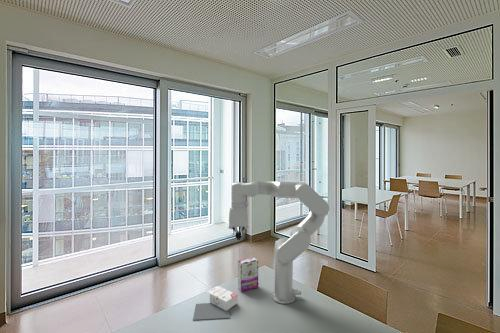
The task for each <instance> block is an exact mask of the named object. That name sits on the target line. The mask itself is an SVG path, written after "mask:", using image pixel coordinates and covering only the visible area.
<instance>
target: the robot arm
mask: <svg viewBox="0 0 500 333" xmlns="http://www.w3.org/2000/svg"><path fill="white" fill-rule="evenodd" d="M259 195H262V196H263V195H265V196H266V195H267V196H271V197H274V198H279V199H298V200H299V201H300V202H301V203H302V204H303V205H304V206H306V207H307V209H309V212H308V215H307V216H305V217H304V219H303V220H301V222H299V223H298V224H297V225H296V226H295V227H293V228H292V229H291V230H290V235H289V236H290V237H289V238H286V237H281V238H279V239H277V241H276V242H275V244H274V291H273V292H272V293H271V299H272V300H273V301H274V302H275V303H278V304H282V305H288V304H291V303H294V302H295V301H296V296H297V295H300V296H301V295H302V294H303V293H302V291H301V290H299V289H298V288H295V289H294V288H293V287H294V286H293V284H294V283H293V282H294V281H293V277H294V276H293V273H294V266H293V265H294V260H296V259H297V258H299V257H300V256H301V255H302V254H303V253H304V252H306V251H307V250H308V248H309V247H310V245H311V243H312V238H311V236H313V234H315V233H316V232H317V231H318V230H319V229H320V228H321V227H322V225H323V223H324V221H325V217H326V216H327V215H328V214H329V211H330V205H329V203H328V202H327V201H326V200H325V199H324V198H323V197H321V195H319V193H318V192H316V190H314V188H312V187H311V186H310V185H309V184H308V183H307V182H302V181H299V182H298V181H297V182H296V181H259V180H257V181H256V180H254V181H253V180H252V181H250V182H249V183H248V182H247V183H246V182H242V181H235V182H233V183H232V184H231V206H230V207H229V211H228V212H229V214H228V229H230V230H233V231H234V232H235V238H236V240H237V241H241V238H242V232H243V231H244V230H247V229H249V215H248V214H249V213H248V208H247V206H249V203H248V202H247V201H246V200H247V199H246V197H249V198H255V197H257V196H259ZM238 228H239V229H238Z"/></svg>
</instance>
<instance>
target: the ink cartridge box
mask: <svg viewBox="0 0 500 333" xmlns="http://www.w3.org/2000/svg"><path fill="white" fill-rule="evenodd" d="M206 293H208V294H209V303H212V304H214V305H216V306H218V307H220V308H222V309H224V310H226V311H227V310H228V309H230V310H231V308H233V307H234V306H235V305H237V304H238V294H237V293H234V292H232V291H230V290H228V289H226V288H224V287H222V286H219V285H216V286H214V287H213V288H210V289H208V290H207V291H206Z"/></svg>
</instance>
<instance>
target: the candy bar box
mask: <svg viewBox="0 0 500 333" xmlns="http://www.w3.org/2000/svg"><path fill="white" fill-rule="evenodd" d="M258 288H259V260H258V259H257V258H256V257H254V256H253V257H249V258H244V259H241V260H237V289H238V290H239V291H240V292H241V293H244V292H247V291H251V290H255V289H258Z"/></svg>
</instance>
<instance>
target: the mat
mask: <svg viewBox="0 0 500 333" xmlns="http://www.w3.org/2000/svg"><path fill="white" fill-rule="evenodd" d="M194 307H195V308H194V312H193V318H192V321H194V322H195V321H206V320H207V321H208V320H211V321H212V320H224V319H230V318H231V312H230V311H231V308H230V309H228V310H227V311H226V310H224V309H222V308H220V307H218V306H216V305H214V304H212V303H210V302H208V303H207V302H206V303H204V302H203V303H195V306H194Z"/></svg>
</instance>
